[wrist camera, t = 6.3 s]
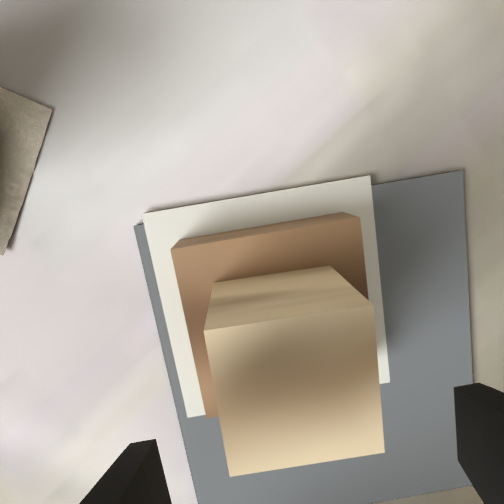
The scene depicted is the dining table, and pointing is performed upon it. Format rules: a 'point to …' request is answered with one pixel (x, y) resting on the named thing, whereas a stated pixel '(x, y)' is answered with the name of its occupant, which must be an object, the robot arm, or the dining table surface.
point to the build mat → (386, 326)
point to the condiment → (17, 154)
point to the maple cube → (293, 370)
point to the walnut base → (260, 268)
